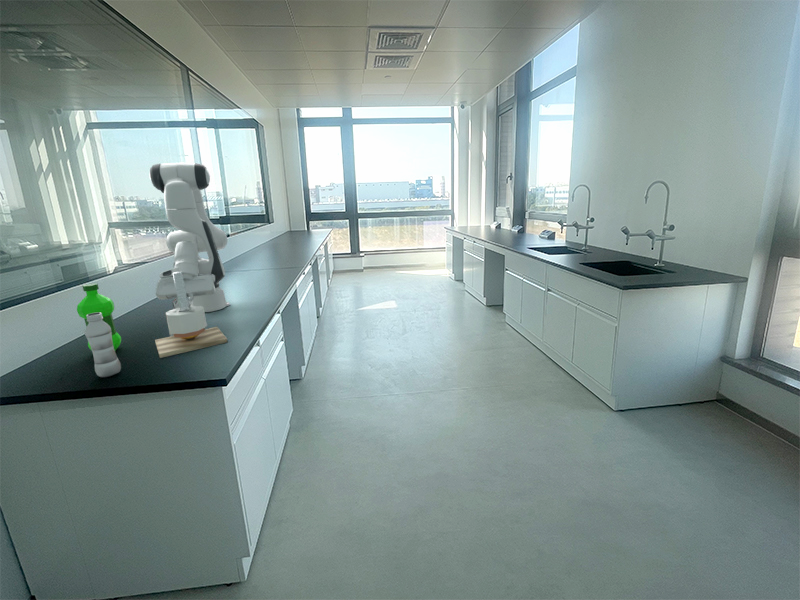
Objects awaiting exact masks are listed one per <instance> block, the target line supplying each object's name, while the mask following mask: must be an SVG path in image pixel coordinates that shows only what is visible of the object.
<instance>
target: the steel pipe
mask: <svg viewBox="0 0 800 600" xmlns="http://www.w3.org/2000/svg"><path fill="white" fill-rule="evenodd" d="M173 278H174V283H175V288H176V292H177V297H178V302H179V307H180V312H186V311H189V305H188V297H187V295H186V290H185V284H184V279H183V274H182V272H174V273H173ZM198 335H199V334H198ZM198 335H194V336H190V337H180V338H181V339H186V340H187V341H190V340H194V339H195V337H197V336H198Z"/></svg>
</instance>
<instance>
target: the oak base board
mask: <svg viewBox="0 0 800 600" xmlns="http://www.w3.org/2000/svg"><path fill="white" fill-rule="evenodd" d="M204 329H205V331H204V332H202V333H200V334H199V335H198V336H197V337H195V339H194V340H190V341H187V340H186V339H181V338H180V337H175V336H171V337H170V336H167V337H162V338H158V339H155V340H154V341H155V346H156V349H157V352H158V356H159V359H161V358H162V359H163V358H166V357H170V356H171V357H172V356H174V355H178V354H183V353H187V352H191V351H192V352H193V351H196V350H200V349H205V348H208V347H213V346H218V345H222V344H226V343H228V338H227V336H225V335H224V333H223V332H222V331H221V330H220V328H219V327H218V326H215V327H210V328H204Z"/></svg>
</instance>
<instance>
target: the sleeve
mask: <svg viewBox="0 0 800 600" xmlns="http://www.w3.org/2000/svg"><path fill="white" fill-rule="evenodd" d="M166 317H167V318H166ZM165 318H166V322H167V321H168V323H167V327H168V326H169V329H168V331H169V330H170V333H171V334H186V333H190V332H195V331H199V330H201V329H203V328H204V329H206V327H208V323H207V319H206V312H204V308H203V307H202V306H189V311H186V312H180V308H175V309H174V308H173V309H170V310H168V311H165Z"/></svg>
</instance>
